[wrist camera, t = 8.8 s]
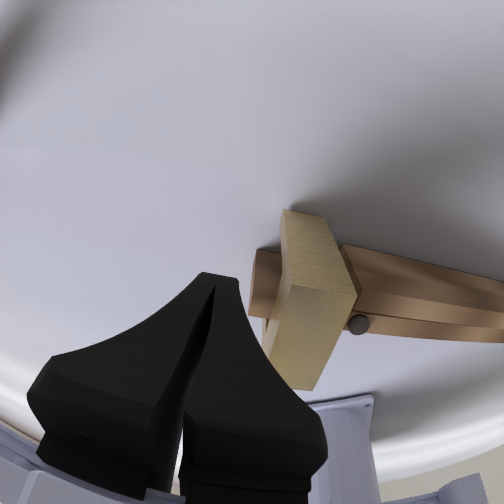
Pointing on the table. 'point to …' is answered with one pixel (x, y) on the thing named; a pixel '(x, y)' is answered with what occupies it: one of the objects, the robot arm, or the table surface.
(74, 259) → the table surface
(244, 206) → the table surface
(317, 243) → the light wood block
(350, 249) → the tong arm
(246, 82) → the table surface
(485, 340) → the bar
